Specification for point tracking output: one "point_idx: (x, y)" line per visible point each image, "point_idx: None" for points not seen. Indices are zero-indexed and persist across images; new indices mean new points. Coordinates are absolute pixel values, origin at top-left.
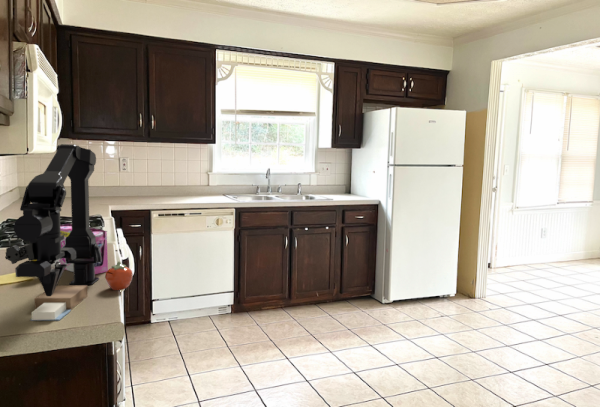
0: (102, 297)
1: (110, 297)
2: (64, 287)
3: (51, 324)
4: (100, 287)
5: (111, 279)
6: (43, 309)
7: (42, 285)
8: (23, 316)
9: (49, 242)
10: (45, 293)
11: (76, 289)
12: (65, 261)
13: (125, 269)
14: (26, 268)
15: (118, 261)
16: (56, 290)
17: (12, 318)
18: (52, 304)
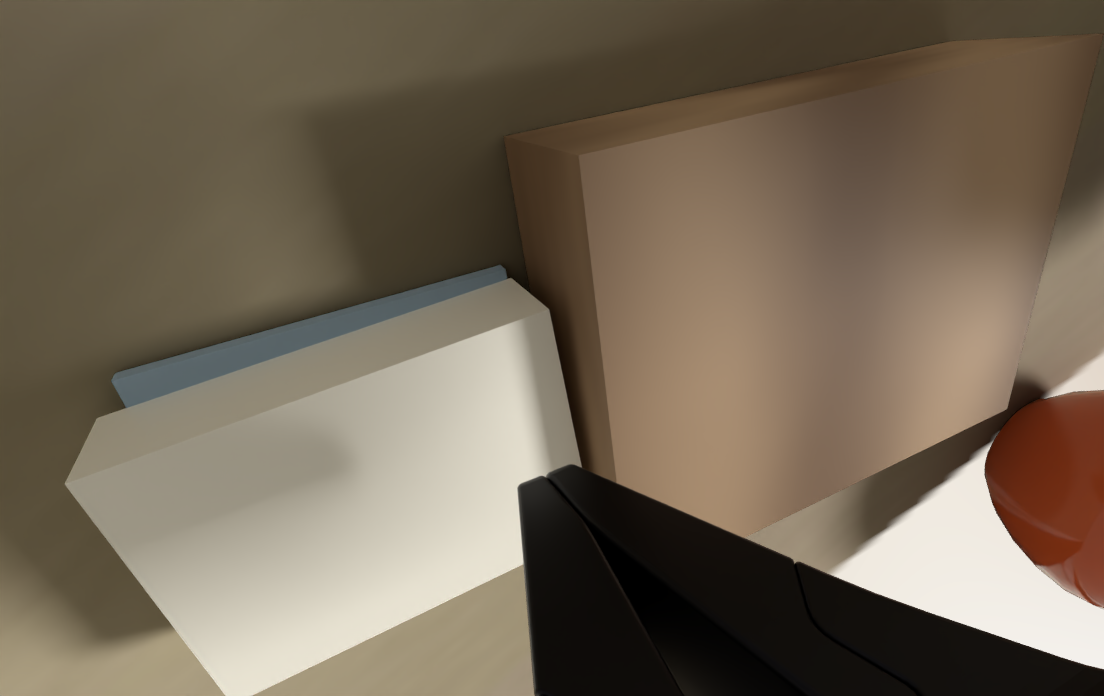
0: (860, 484)
1: (854, 532)
2: (996, 230)
3: (119, 668)
4: (1072, 304)
5: (1074, 520)
6: (268, 526)
7: (534, 669)
8: (228, 145)
9: None
10: (519, 515)
11: (908, 411)
12: None
13: None
14: None
15: None
16: (907, 217)
17: (65, 19)
18: (493, 464)
